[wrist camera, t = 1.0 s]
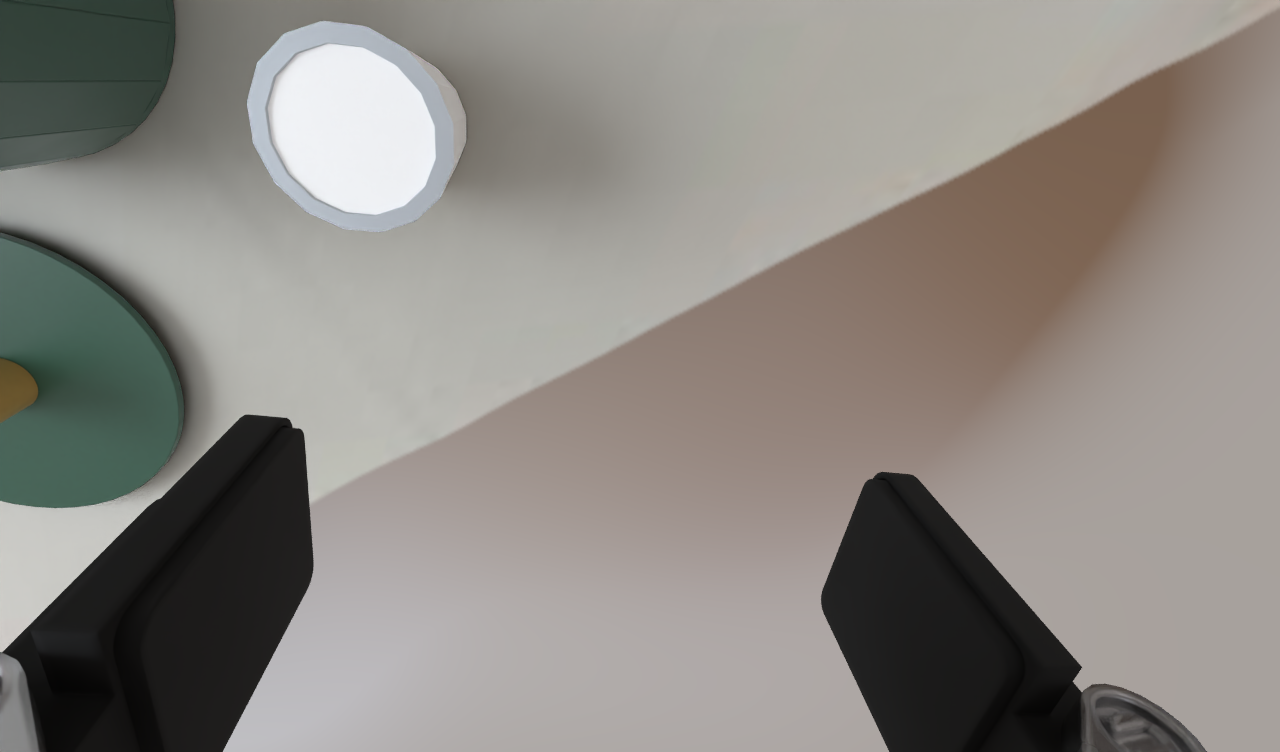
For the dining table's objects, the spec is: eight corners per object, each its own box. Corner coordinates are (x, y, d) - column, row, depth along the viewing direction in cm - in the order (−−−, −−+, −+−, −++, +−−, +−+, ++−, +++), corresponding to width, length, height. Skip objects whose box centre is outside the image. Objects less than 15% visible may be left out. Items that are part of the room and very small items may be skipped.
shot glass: (466, 217, 29) (437, 255, 23) (315, 175, 28) (240, 203, 22) (495, 66, 27) (471, 61, 20) (329, 9, 25) (249, -14, 19)
